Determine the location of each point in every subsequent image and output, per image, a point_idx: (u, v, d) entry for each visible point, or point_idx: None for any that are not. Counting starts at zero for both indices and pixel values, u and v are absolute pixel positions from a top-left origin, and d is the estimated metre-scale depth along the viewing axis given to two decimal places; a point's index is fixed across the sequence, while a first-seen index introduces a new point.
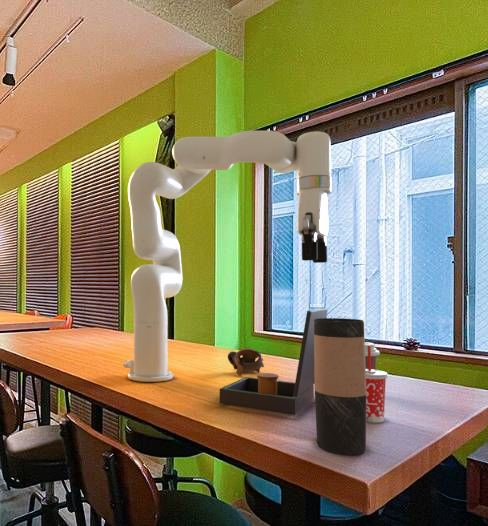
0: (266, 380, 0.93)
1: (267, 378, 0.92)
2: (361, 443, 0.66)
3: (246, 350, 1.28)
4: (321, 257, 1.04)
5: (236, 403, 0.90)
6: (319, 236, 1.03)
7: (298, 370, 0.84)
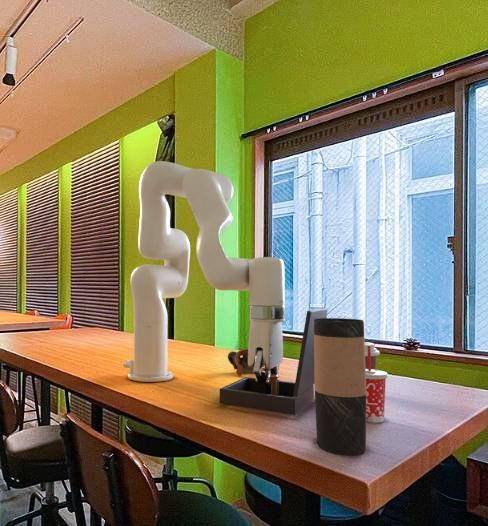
0: None
1: None
2: (361, 443, 0.66)
3: (246, 350, 1.28)
4: None
5: (236, 403, 0.90)
6: None
7: (298, 370, 0.84)
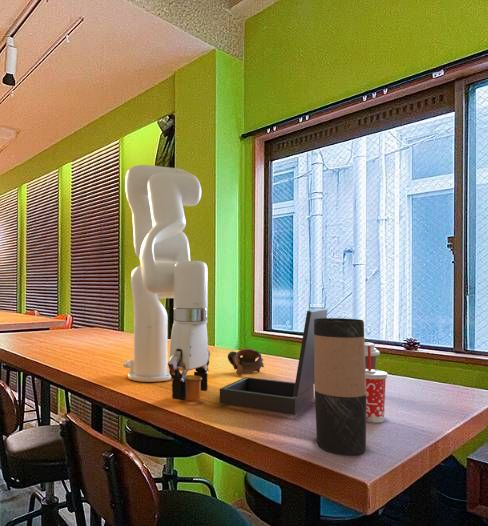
0: (188, 382, 0.94)
1: (189, 380, 0.94)
2: (361, 443, 0.66)
3: (246, 350, 1.28)
4: (201, 385, 1.00)
5: (236, 403, 0.90)
6: None
7: (298, 370, 0.84)
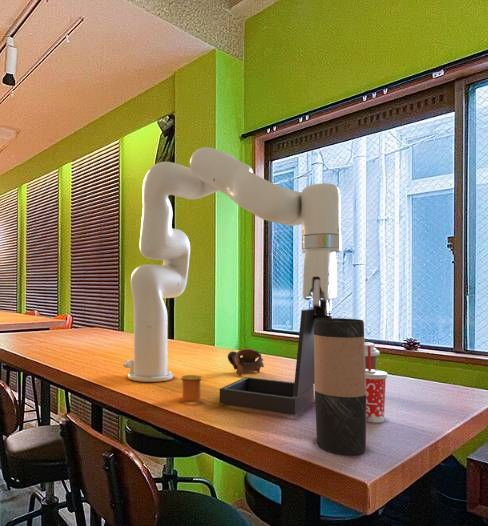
0: (188, 382, 0.94)
1: (189, 380, 0.94)
2: (361, 443, 0.66)
3: (246, 350, 1.28)
4: None
5: (236, 403, 0.90)
6: (324, 300, 0.90)
7: (296, 370, 0.84)
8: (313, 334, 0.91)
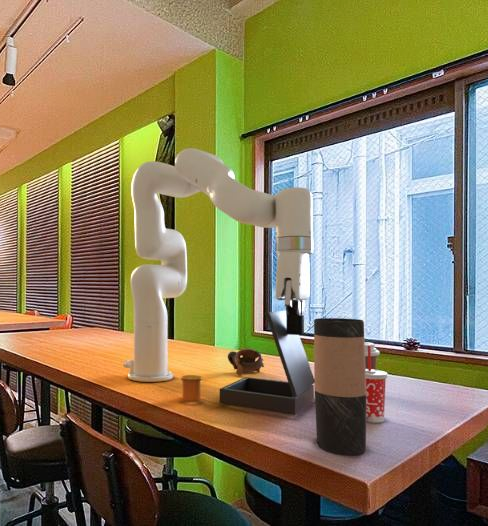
0: (188, 382, 0.94)
1: (189, 380, 0.94)
2: (361, 443, 0.66)
3: (246, 350, 1.28)
4: None
5: (236, 403, 0.90)
6: None
7: (285, 370, 0.85)
8: (289, 334, 0.93)
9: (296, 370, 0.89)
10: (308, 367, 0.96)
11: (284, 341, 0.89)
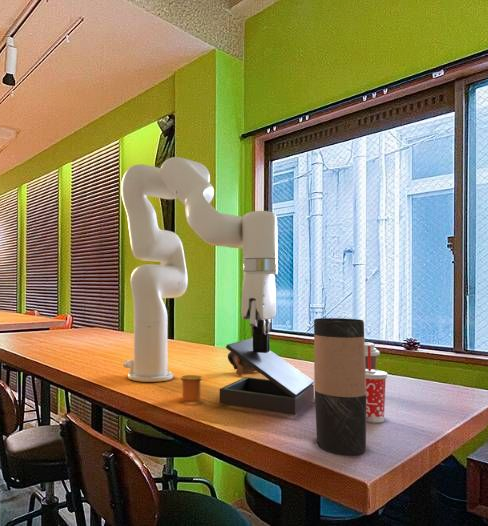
0: (188, 382, 0.94)
1: (189, 380, 0.94)
2: (361, 443, 0.66)
3: None
4: None
5: (236, 403, 0.90)
6: None
7: (272, 380, 0.86)
8: (261, 354, 0.96)
9: (284, 377, 0.90)
10: (299, 372, 0.97)
11: (257, 360, 0.92)
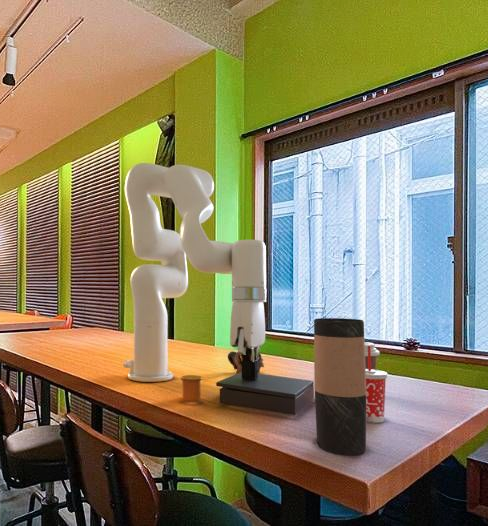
0: (188, 382, 0.94)
1: (189, 380, 0.94)
2: (361, 443, 0.66)
3: None
4: None
5: (236, 403, 0.90)
6: None
7: (269, 393, 0.87)
8: None
9: (280, 386, 0.90)
10: (296, 379, 0.97)
11: (250, 383, 0.92)
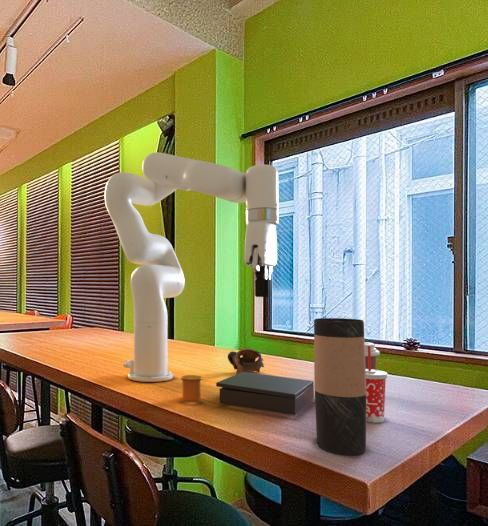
0: (188, 382, 0.94)
1: (189, 380, 0.94)
2: (361, 443, 0.66)
3: (246, 350, 1.28)
4: None
5: (236, 403, 0.90)
6: None
7: (269, 393, 0.87)
8: (254, 379, 0.97)
9: (280, 386, 0.90)
10: (296, 379, 0.97)
11: (250, 383, 0.92)
